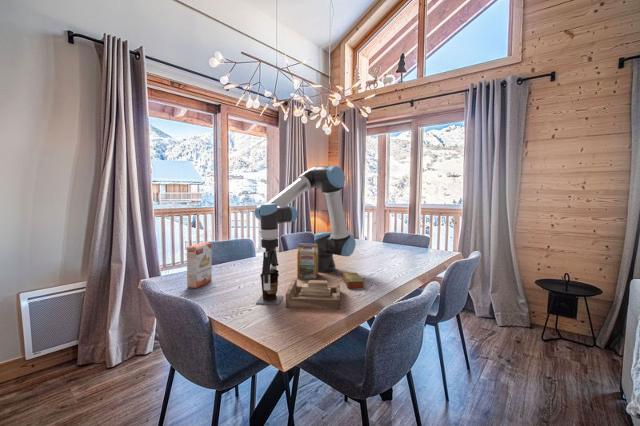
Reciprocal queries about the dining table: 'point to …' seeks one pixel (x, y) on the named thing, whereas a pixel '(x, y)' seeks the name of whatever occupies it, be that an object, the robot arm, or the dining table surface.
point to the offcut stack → (316, 288)
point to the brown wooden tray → (311, 302)
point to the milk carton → (307, 261)
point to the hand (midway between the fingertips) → (270, 284)
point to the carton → (353, 280)
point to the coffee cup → (271, 286)
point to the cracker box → (199, 265)
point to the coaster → (274, 302)
